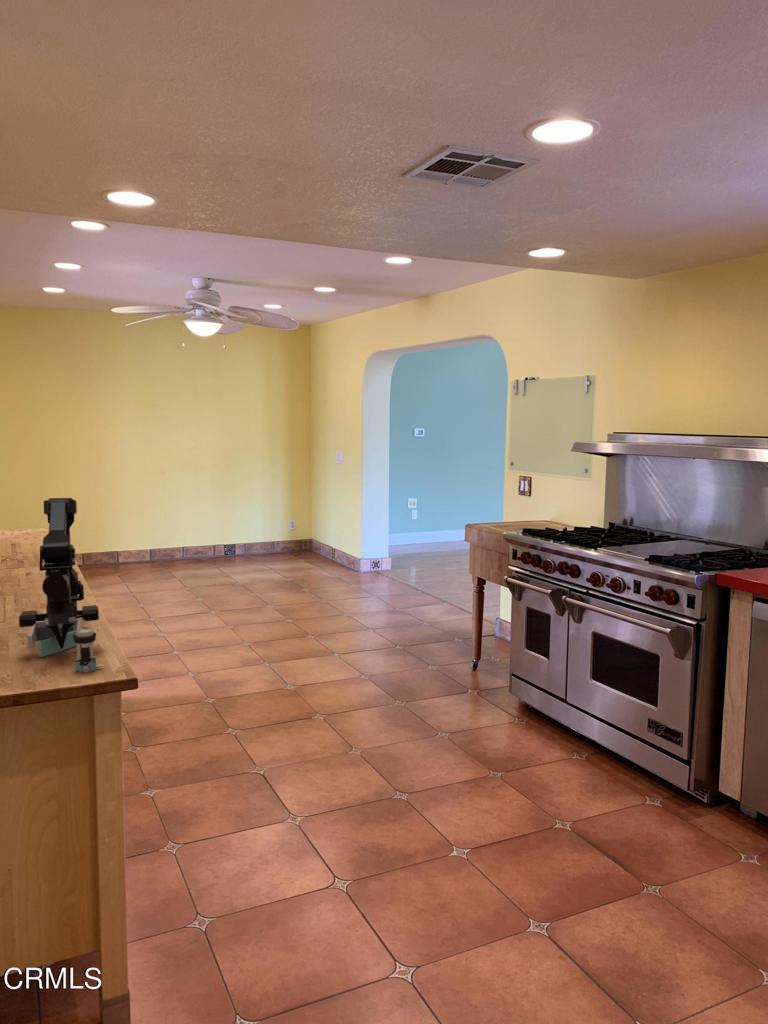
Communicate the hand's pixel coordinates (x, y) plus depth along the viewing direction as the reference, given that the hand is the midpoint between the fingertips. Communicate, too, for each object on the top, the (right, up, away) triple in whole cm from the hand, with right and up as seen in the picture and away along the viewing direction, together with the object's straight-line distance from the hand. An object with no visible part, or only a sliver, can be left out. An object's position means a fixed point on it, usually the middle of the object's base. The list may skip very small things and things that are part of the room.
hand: (61, 648), depth 198 cm
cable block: (-8, 0, +14) cm, 16 cm away
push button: (+11, -4, -12) cm, 17 cm away
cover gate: (-1, -1, +3) cm, 3 cm away
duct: (-7, 0, +15) cm, 16 cm away
